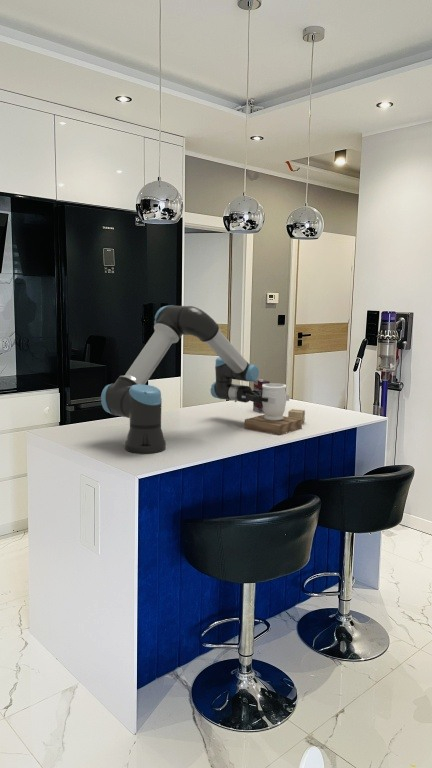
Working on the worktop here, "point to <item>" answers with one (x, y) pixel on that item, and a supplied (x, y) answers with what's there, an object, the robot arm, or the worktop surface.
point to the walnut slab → (273, 424)
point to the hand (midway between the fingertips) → (282, 399)
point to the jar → (276, 410)
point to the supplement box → (257, 387)
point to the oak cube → (297, 414)
